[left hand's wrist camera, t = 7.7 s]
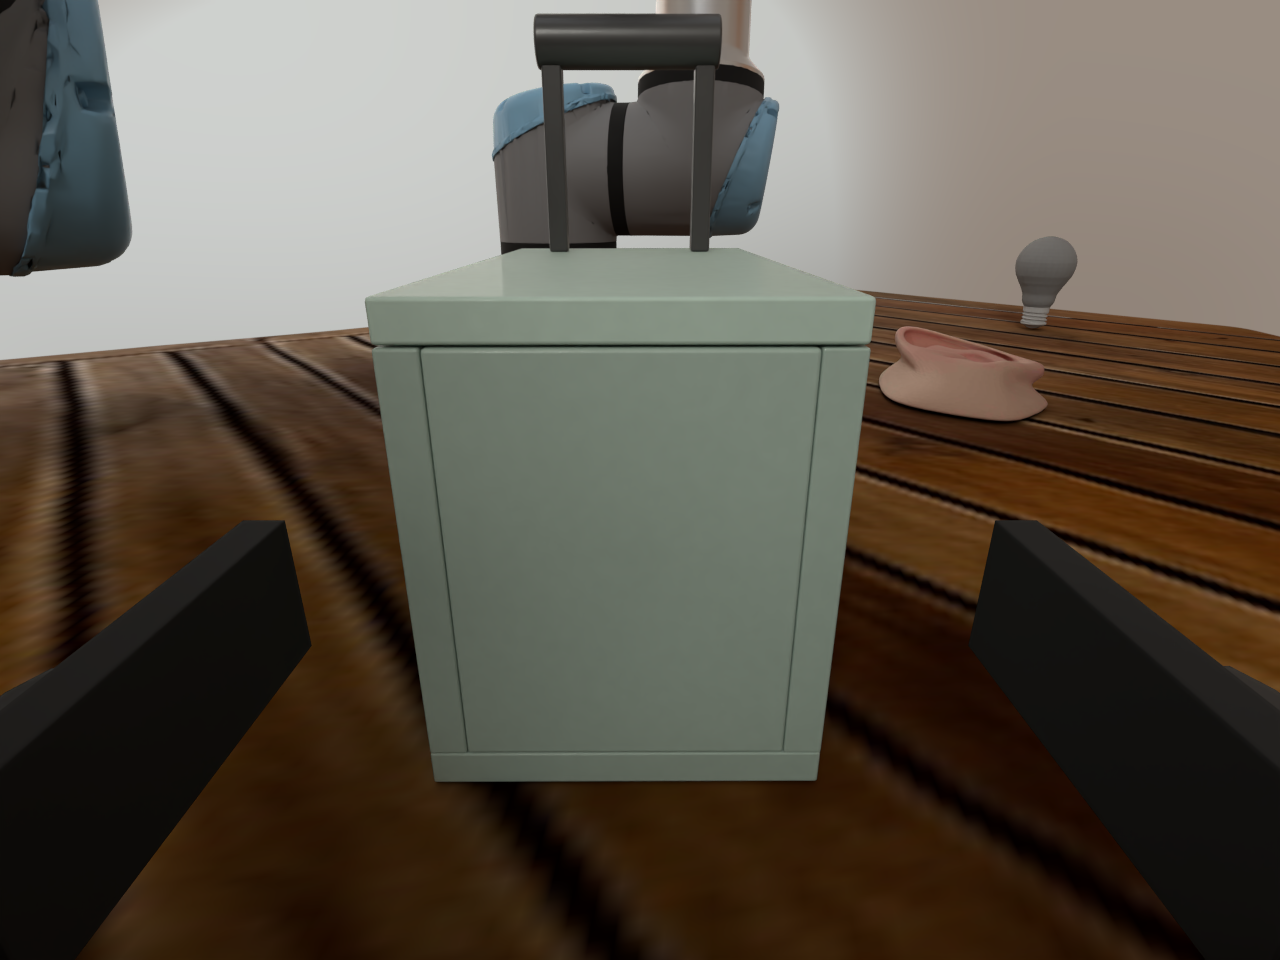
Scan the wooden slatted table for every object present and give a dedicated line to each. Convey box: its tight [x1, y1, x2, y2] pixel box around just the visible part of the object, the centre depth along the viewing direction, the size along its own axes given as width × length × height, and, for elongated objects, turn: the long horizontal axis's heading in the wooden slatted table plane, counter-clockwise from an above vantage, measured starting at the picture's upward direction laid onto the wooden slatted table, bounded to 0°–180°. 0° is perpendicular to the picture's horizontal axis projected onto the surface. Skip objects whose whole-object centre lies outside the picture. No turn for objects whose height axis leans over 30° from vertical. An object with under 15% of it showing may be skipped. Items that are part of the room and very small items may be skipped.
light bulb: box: [1015, 237, 1077, 328], centre depth 77 cm, size 6×6×10 cm
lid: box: [365, 14, 876, 345], centre depth 19 cm, size 18×9×9 cm, turn 0°
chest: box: [372, 345, 870, 782], centre depth 22 cm, size 17×9×10 cm, turn 0°
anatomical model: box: [879, 326, 1047, 421], centre depth 49 cm, size 13×4×12 cm
